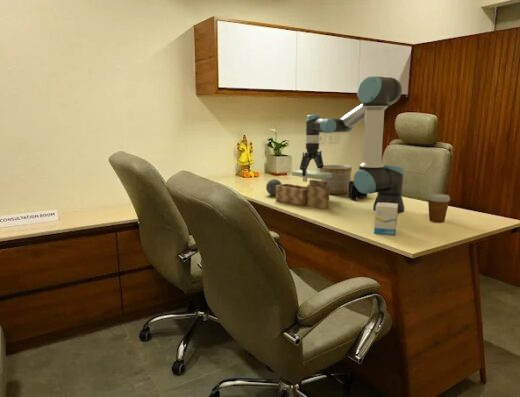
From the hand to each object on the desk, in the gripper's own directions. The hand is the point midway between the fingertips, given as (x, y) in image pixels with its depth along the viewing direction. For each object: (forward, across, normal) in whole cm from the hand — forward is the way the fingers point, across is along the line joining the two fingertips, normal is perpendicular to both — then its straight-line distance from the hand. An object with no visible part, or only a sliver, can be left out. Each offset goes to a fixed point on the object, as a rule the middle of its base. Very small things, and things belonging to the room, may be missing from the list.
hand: (311, 180), depth 230 cm
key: (-1, +15, +18) cm, 23 cm away
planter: (+11, -25, -2) cm, 27 cm away
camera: (+11, -20, +18) cm, 29 cm away
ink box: (+10, +30, +66) cm, 74 cm away
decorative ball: (+11, +9, -22) cm, 26 cm away
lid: (-2, 0, 0) cm, 2 cm away
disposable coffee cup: (+10, -2, +73) cm, 74 cm away
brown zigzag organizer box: (+11, +15, +7) cm, 20 cm away
